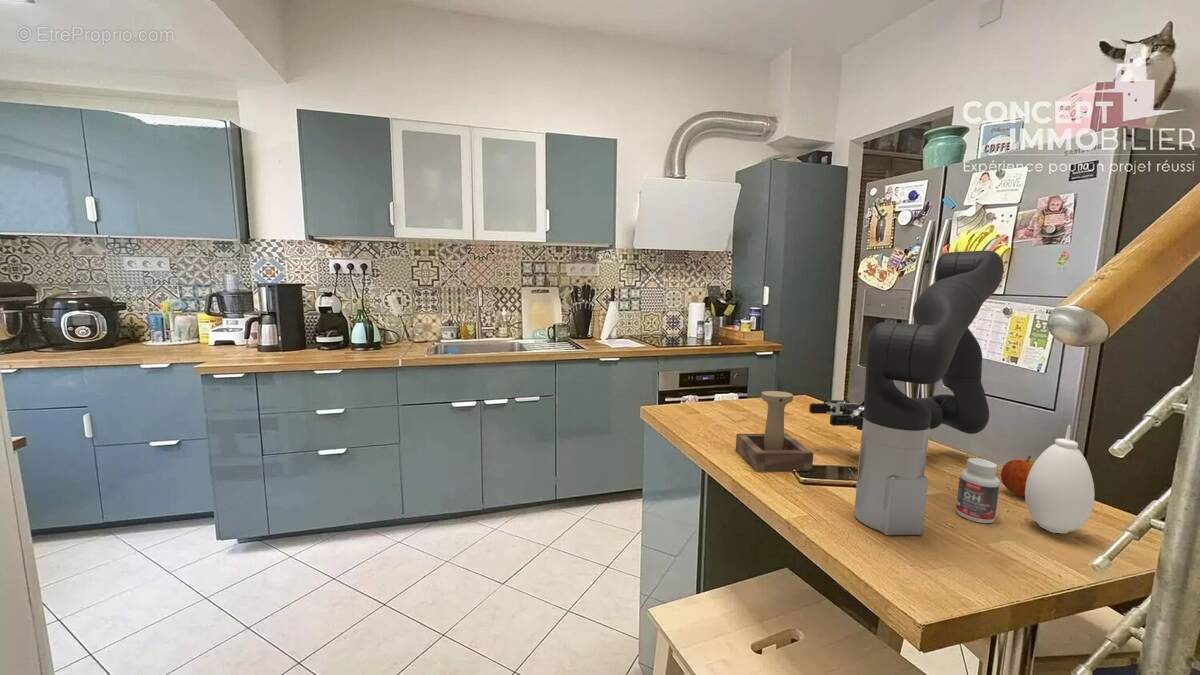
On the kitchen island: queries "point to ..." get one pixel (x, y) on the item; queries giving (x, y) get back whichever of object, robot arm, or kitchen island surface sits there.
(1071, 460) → the white air blower bulb
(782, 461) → the socket
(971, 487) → the pill bottle
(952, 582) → the kitchen island surface
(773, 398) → the handle
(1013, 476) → the fruit
